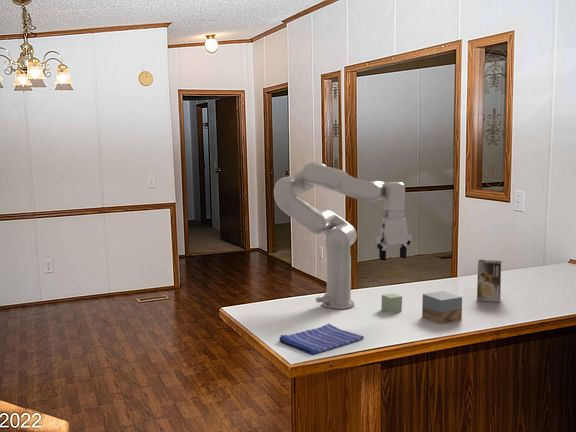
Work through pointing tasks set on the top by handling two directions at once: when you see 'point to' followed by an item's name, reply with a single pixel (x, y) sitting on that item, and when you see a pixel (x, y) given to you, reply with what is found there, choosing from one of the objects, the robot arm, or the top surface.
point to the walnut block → (442, 315)
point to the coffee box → (489, 280)
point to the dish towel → (320, 339)
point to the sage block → (391, 303)
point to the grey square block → (442, 301)
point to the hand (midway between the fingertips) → (392, 259)
